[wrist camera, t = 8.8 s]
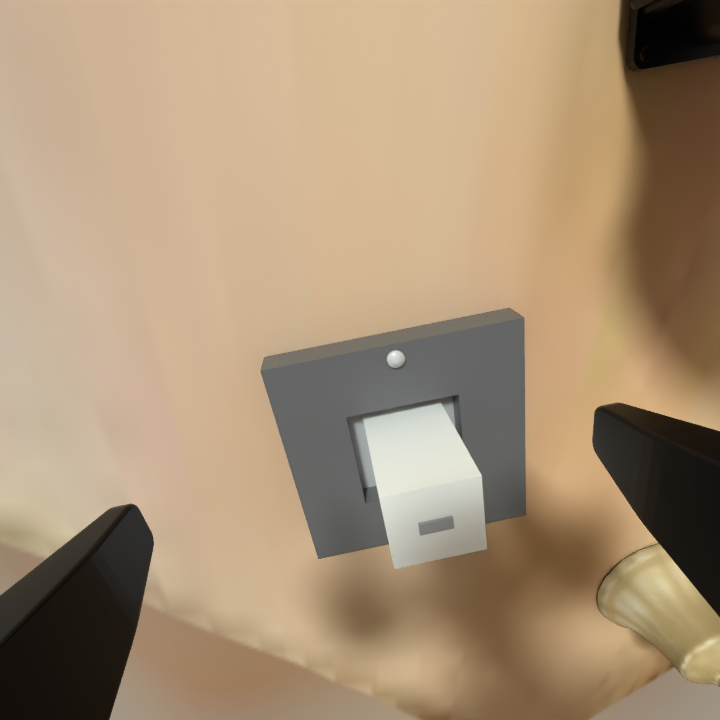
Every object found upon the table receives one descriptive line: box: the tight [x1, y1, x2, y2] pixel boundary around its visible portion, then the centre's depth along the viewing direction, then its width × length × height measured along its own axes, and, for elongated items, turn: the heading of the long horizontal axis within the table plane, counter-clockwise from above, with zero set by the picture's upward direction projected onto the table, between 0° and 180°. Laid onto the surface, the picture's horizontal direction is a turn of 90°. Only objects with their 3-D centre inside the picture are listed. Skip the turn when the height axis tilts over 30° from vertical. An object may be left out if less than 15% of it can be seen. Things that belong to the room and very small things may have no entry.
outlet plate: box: [261, 308, 526, 559], centre depth 21 cm, size 12×12×2 cm
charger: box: [362, 399, 487, 569], centre depth 19 cm, size 4×4×6 cm
